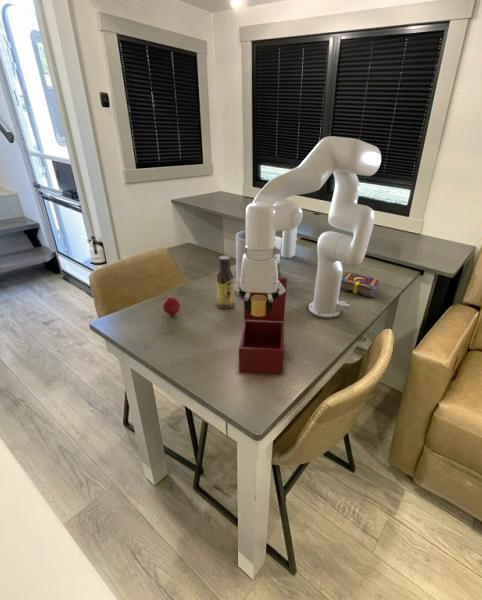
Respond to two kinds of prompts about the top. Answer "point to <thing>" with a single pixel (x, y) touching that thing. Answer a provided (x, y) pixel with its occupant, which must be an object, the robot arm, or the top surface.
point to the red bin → (261, 347)
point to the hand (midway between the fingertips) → (258, 311)
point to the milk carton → (278, 245)
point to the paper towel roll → (289, 243)
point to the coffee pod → (258, 305)
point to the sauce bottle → (225, 284)
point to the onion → (171, 306)
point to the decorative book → (359, 284)
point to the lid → (277, 306)
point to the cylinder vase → (240, 252)
